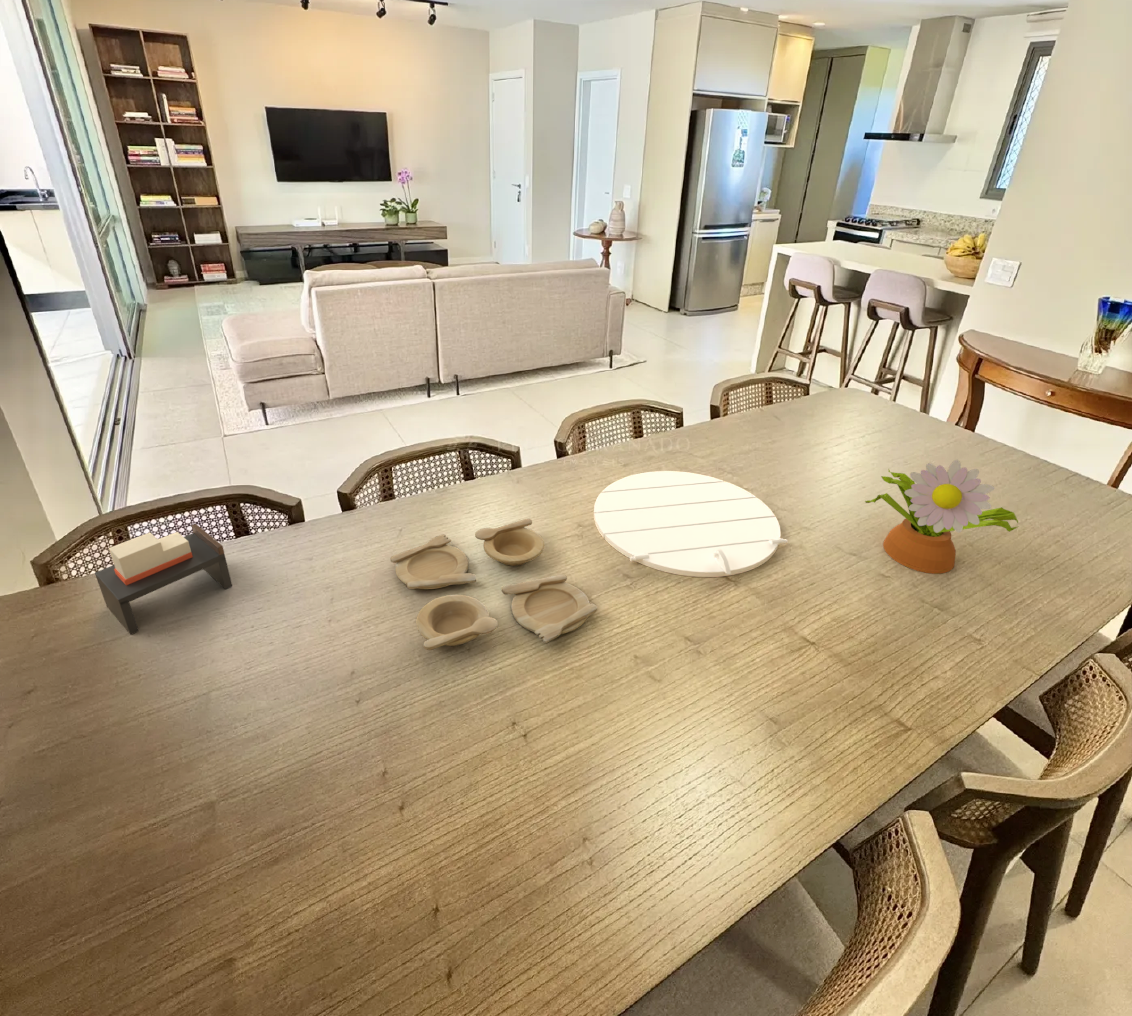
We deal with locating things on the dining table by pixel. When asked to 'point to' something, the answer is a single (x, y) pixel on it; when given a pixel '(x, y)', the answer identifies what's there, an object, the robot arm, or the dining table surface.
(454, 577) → the tableware set
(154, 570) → the orange-based notched block
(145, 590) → the shoe shelf
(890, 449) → the dining table surface
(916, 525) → the decorative plant
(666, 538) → the lazy susan
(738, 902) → the dining table surface
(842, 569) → the dining table surface
